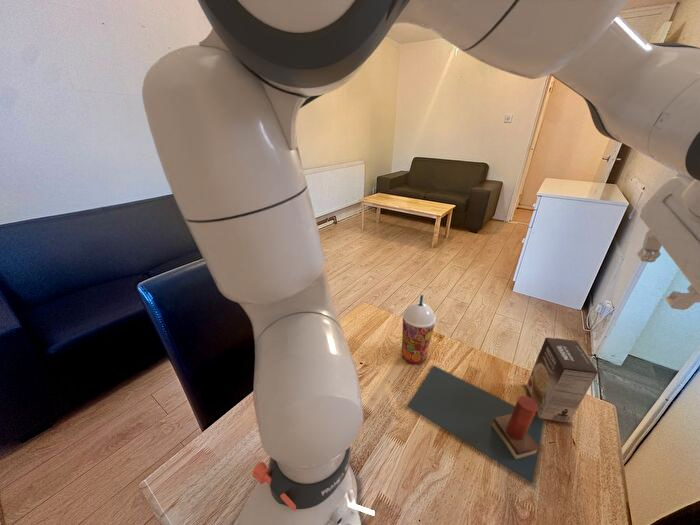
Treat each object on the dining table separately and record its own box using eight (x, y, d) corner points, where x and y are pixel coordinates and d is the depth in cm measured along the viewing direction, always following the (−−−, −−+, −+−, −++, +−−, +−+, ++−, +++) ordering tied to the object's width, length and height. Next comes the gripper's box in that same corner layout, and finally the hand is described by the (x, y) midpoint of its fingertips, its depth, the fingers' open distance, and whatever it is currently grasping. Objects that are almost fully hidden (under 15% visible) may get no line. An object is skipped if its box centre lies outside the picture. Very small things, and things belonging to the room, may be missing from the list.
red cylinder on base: (535, 454, 55) (553, 417, 50) (515, 459, 54) (531, 423, 49) (510, 420, 61) (524, 385, 56) (491, 425, 61) (504, 389, 56)
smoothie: (392, 355, 79) (397, 295, 70) (410, 341, 84) (417, 283, 75) (417, 372, 74) (426, 310, 65) (435, 356, 79) (446, 296, 70)
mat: (531, 485, 51) (532, 483, 51) (406, 407, 65) (407, 406, 65) (542, 422, 62) (543, 420, 61) (433, 367, 75) (433, 365, 75)
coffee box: (524, 385, 70) (544, 335, 63) (552, 390, 69) (576, 339, 62) (538, 420, 62) (563, 367, 55) (570, 425, 61) (600, 372, 54)
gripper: (665, 156, 40) (608, 234, 49) (773, 247, 26) (664, 333, 35) (722, 159, 38) (652, 239, 48) (871, 258, 24) (730, 345, 34)
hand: (658, 280), depth 41 cm, fingers open, 8 cm apart
